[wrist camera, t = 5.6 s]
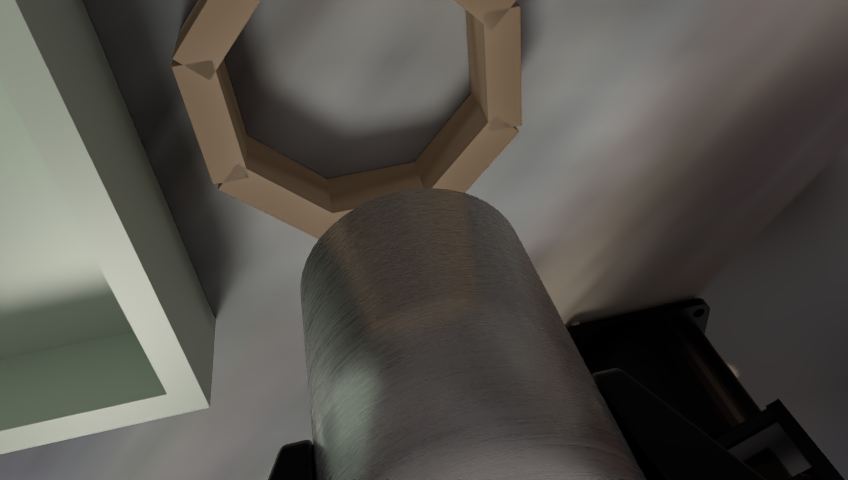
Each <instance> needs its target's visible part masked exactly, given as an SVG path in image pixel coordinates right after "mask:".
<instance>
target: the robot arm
mask: <svg viewBox="0 0 848 480" xmlns="http://www.w3.org/2000/svg"><path fill="white" fill-rule="evenodd" d="M709 311H710V308H709V306H708V305H707V304H706V303H705V301H704V300H703V299H701V298H696V299H691V300H687V301H682V302H678V303H673V304H669V305H664V306H660V307H655V308H651V309H646V310H642V311H638V312H633V313H629V314H624V315H620V316H615V317H611V318H606V319H602V320H597V321H593V322H588V323H584V324H579V325H575V326H572V327H569V328H568V329H567V330H568V332H569V334H570V336H571V338H572V340H573V341H574V343H575V345H576V347H577V349H578V351H579V353H580V355H581V357H582V358H583V360H584V362H585V364H586V366H587V368H588V370H589V372H590V374H591V376H592V377H593V379H594V381H595V383H596V385H597V387H598V389H599V391H600V393H601V394H602V396H603V398H604V400H605V402H606V404H607V406H608V408H609V410H610V411H611V413H612V415H613V417H614V419H615V421H616V423H617V425H618V427H619V428H620V430H621V432H622V434H623V436H624V438H625V440H626V442H627V444H628V446H629V447H630V449H631V451H632V453H633V455H634V457H635V459H636V461H637V463H638V464H639V466H640V468H641V470H642V472H643V474H644V476H645V478H646V480H844V479H843V477H842V476H841V475H840V474H839V473H838V471H837V470H836V469H835V468H834V466H833V465H832V464H831V463H830V461H829V460H828V459H827V458H826V456H825V455H824V454H823V453H822V452H821V450H820V449H819V448H818V447H817V445H816V444H815V443H814V442H813V441H812V439H811V438H810V437H809V436H808V434H807V433H806V432H805V431H804V429H803V428H802V427H801V426H800V425H799V423H798V422H797V421H796V420H795V418H794V417H793V416H792V415H791V414H790V412H789V411H788V410H787V409H786V407H785V406H784V405H783V404H782V402H781V401H780V400H779V399H777V400H775V401H773V402H771V403H770V404H768V405H766V407H767V408H766V409H765V410H763V411H762V410H761V409H760V408H759V406H758V405H757V404H756V402H755V401H754V400H753V399H752V397H751V396H750V394H749V393H748V392H747V390H746V389H745V388H744V386H743V385H742V384H741V383H740V381H739V380H738V379H737V377H736V376H735V375H734V373H733V372H732V371H731V369H730V368H729V367H728V365H727V364H726V363H725V361H724V360H723V359H722V358H721V356H720V355H719V353H718V352H717V351H716V349H715V348H714V347H713V345H712V344H711V343H710V342H709V340H708V339H707V337H706V336H705V335H704V333H705V329H706V324H707V320H708V316H709ZM574 337H575V338H574ZM809 467H811V468H809ZM808 468H809V469H808ZM806 469H807V470H806ZM804 470H805V471H804ZM268 480H316V473H315V461H314V449H313V444H312V442H311V441H309V440H303V441H299V442H295V443H290V444H286V445H284V446H283V447H282V448H281V449H280V451H279V453H278V455H277V458H276V460H275V463H274V465H273V468H272V471H271V473H270V476H269V478H268Z"/></svg>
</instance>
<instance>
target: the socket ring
mask: <svg viewBox="0 0 848 480" xmlns="http://www.w3.org/2000/svg"><path fill="white" fill-rule="evenodd" d="M260 1H261V0H198V1H197V2H196V4H195V6H194V8H193V9H192V11H191V13H190V14H189V16H188V18H187V19H186V21H185V23H184V24H183V26H182V28H181V29H180V31H179V35H178V39H177V43H176V46H175V50H174V54H173V58H172V59H173V63H172V70H173V72H174V75H175V78H176V81H177V84H178V86H179V89H180V92H181V95H182V98H183V101H184V103H185V106H186V109H187V112H188V115H189V117H190V120H191V123H192V126H193V129H194V131H195V134H196V137H197V140H198V143H199V145H200V148H201V151H202V154H203V157H204V160H205V162H206V165H207V168H208V171H209V174H210V176H211V179H212V182H213V184H219V187H218V190H220V191H222V192H224V193H226V194H228V195H230V196H232V197H234V198H236V199H238V200H240V201H242V202H245V203H247V204H249V205H251V206H253V207H255V208H257V209H259V210H261V211H263V212H265V213H267V214H269V215H271V216H273V217H275V218H277V219H279V220H281V221H283V222H285V223H287V224H289V225H291V226H294V227H296V228H298V229H300V230H302V231H304V232H306V233H308V234H310V235H312V236H314V237H316V238H318V239H320V237H321V236H322V235H323V234H324V233H325V232H326V231H327V230H328V229H329V228H330V227H331V226H332V225H333V224H334V223H335V222H336V221H338V220H339V219H340V218H341V217H343V216H344V215H346V214H347V213H349V212H350V211H352V210H353V209H355V208H356V207H358V206H360V205H362V204H364V203H366V202H368V201H370V200H373V199H376V198H378V197H381V196H384V195H387V194H391V193H395V192H399V191H404V190H411V189H420V188H438V189H449V190H454V191H458V192H463V193H465V192H466V191H467V190H468V189H469V187H470V186H471V185H472V184H473V183H474V182H475V181H476V180H477V178H478V177H479V176H480V175H481V174H482V173H483V172H484V171H485V169H486V168H487V167H488V166H489V165H490V164H491V163H492V162H493V160H494V159H495V158H496V157H497V156H498V155H499V154H500V153H501V151H502V150H503V149H504V148H505V147H506V146H507V145H508V144H509V142H510V141H511V140H512V139H513V138H514V137H515V136H516V135H517V133H518V132H519V131H518V129H517V128H516V126H521V125H522V113H521V22H520V5H519V4H518V3H517V2H516V0H454V1H456V2H457V3H458V4H459V5H461V6H462V7H463V8H464V9H466V25H467V41H468V57H469V73H470V89H471V94H470V95H469V96H468V97H467V99H466V100H465V101H464V102H463V104H462V105H461V106H460V107H459V108H458V110H457V111H456V112H455V113H454V114H453V116H452V117H451V118H450V119H449V120H448V122H447V123H446V124H445V125H444V126H443V128H442V129H441V130H440V131H439V132H438V134H437V135H436V136H435V137H434V138H433V140H432V141H431V142H430V143H429V144H428V146H427V147H426V148H425V149H424V150H423V152H422V153H421V154H420V155H419V156H418V158H417V159H416V160H415V161H414V162H411V163H406V164H401V165H396V166H391V167H386V168H380V169H375V170H370V171H365V172H360V173H355V174H349V175H344V176H339V177H334V178H329V179H326V178H324V177H322V176H321V175H319V174H317V173H315V172H313V171H312V170H310V169H308V168H306V167H304V166H302V165H301V164H299V163H297V162H295V161H293V160H291V159H290V158H288V157H286V156H284V155H282V154H280V153H279V152H277V151H275V150H273V149H271V148H270V147H268V146H266V145H264V144H262V143H260V142H259V141H257V140H255V139H253V138H251V137H249V136H248V135H247V134H246V130H245V127H244V124H243V120H242V117H241V114H240V111H239V107H238V104H237V101H236V97H235V94H234V91H233V87H232V84H231V81H230V77H229V74H228V71H227V67H226V64H225V61H224V57H225V56H226V54H227V53H228V51H229V50H230V48H231V46H232V45H233V43H234V42H235V40H236V39H237V37H238V35H239V34H240V32H241V31H242V29H243V28H244V26H245V24H246V23H247V21H248V20H249V18H250V17H251V15H252V13H253V12H254V10H255V9H256V7H257V6H258V4H259V2H260Z"/></svg>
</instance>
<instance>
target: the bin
mask: <svg viewBox="0 0 848 480" xmlns="http://www.w3.org/2000/svg"><path fill="white" fill-rule="evenodd" d="M215 325H216V320H215V318H214V315H213V313H212V310H211V308H210V306H209V303H208V301H207V298H206V296H205V294H204V291H203V289H202V286H201V284H200V282H199V279H198V277H197V274H196V272H195V270H194V267H193V265H192V262H191V260H190V258H189V255H188V253H187V250H186V248H185V246H184V243H183V241H182V238H181V236H180V234H179V231H178V229H177V226H176V224H175V222H174V219H173V217H172V214H171V212H170V210H169V207H168V205H167V202H166V200H165V197H164V195H163V193H162V190H161V188H160V185H159V183H158V181H157V178H156V176H155V173H154V171H153V169H152V166H151V164H150V161H149V159H148V157H147V154H146V152H145V149H144V147H143V145H142V142H141V140H140V137H139V135H138V133H137V130H136V128H135V125H134V123H133V121H132V118H131V116H130V113H129V111H128V109H127V106H126V104H125V101H124V99H123V97H122V94H121V92H120V89H119V87H118V85H117V82H116V80H115V77H114V75H113V73H112V70H111V68H110V65H109V63H108V61H107V58H106V56H105V53H104V51H103V49H102V46H101V44H100V41H99V39H98V36H97V34H96V32H95V29H94V27H93V24H92V22H91V20H90V17H89V15H88V12H87V10H86V8H85V5H84V3H83V0H0V454H4V453H8V452H13V451H17V450H22V449H26V448H31V447H35V446H40V445H44V444H48V443H53V442H57V441H62V440H66V439H71V438H75V437H80V436H84V435H89V434H93V433H98V432H102V431H107V430H111V429H115V428H120V427H124V426H129V425H133V424H138V423H142V422H147V421H151V420H156V419H160V418H165V417H169V416H174V415H178V414H182V413H187V412H191V411H196V410H200V409H205V408H209V407H210V398H211V383H212V369H213V354H214V339H215Z"/></svg>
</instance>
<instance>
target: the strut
mask: <svg viewBox="0 0 848 480" xmlns="http://www.w3.org/2000/svg"><path fill="white" fill-rule="evenodd" d="M301 305H302V318H303V330H304V342H305V354H306V366H307V378H308V390H309V402H310V414H311V426H312V438H313V449H314V461H315V473H316V480H646V478H645V476H644V474H643V472H642V470H641V468H640V466H639V464H638V463H637V461H636V459H635V457H634V455H633V453H632V451H631V449H630V447H629V446H628V444H627V442H626V440H625V438H624V436H623V434H622V432H621V430H620V428H619V427H618V425H617V423H616V421H615V419H614V417H613V415H612V413H611V411H610V410H609V408H608V406H607V404H606V402H605V400H604V398H603V396H602V394H601V393H600V391H599V389H598V387H597V385H596V383H595V381H594V379H593V377H592V376H591V374H590V372H589V370H588V368H587V366H586V364H585V362H584V360H583V358H582V357H581V355H580V353H579V351H578V349H577V347H576V345H575V343H574V341H573V340H572V338H571V336H570V334H569V332H568V330H567V328H566V326H565V324H564V323H563V321H562V319H561V317H560V315H559V313H558V311H557V309H556V307H555V305H554V304H553V302H552V300H551V298H550V296H549V294H548V292H547V290H546V288H545V287H544V285H543V283H542V281H541V279H540V277H539V275H538V273H537V271H536V270H535V268H534V266H533V264H532V262H531V260H530V258H529V256H528V254H527V252H526V251H525V249H524V247H523V245H522V243H521V241H520V239H519V237H518V235H517V234H516V232H515V230H514V228H513V227H512V225H511V224H510V223H509V221H508V220H507V219H506V218H505V217H504V216H503V215H502V214H501V213H500V212H499V211H498V210H497V209H495V208H494V207H493V206H491V205H490V204H489V203H487V202H485V201H483V200H481V199H479V198H477V197H474V196H472V195H469V194H466V193H463V192H458V191H454V190H449V189H438V188H420V189H411V190H404V191H399V192H395V193H391V194H387V195H384V196H381V197H378V198H376V199H373V200H370V201H368V202H366V203H364V204H362V205H360V206H358V207H356V208H355V209H353V210H352V211H350V212H349V213H347V214H346V215H344V216H343V217H341V218H340V219H339V220H338V221H336V222H335V223H334V224H333V225H332V226H331V227H330V228H329V229H328V230H327V231H326V232H325V233H324V234H323V235H322V236H321V237H320V239H319V240H318V242H317V243H316V244H315V246H314V247H313V249H312V251H311V253H310V254H309V256H308V258H307V260H306V263H305V266H304V269H303V272H302V278H301Z"/></svg>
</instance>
